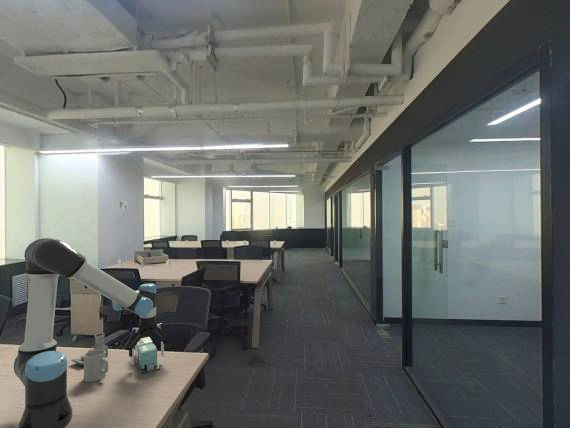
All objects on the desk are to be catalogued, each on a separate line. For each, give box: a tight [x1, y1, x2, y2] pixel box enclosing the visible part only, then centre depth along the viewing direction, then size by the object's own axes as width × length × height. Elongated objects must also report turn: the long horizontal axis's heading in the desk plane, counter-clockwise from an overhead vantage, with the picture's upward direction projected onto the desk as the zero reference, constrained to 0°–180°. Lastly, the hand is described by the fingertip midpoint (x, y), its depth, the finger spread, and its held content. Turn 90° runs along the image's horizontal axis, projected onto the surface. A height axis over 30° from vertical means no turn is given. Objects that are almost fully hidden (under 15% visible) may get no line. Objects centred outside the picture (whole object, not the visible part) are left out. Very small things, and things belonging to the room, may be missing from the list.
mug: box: [83, 349, 109, 383], centre depth 140 cm, size 12×8×11 cm
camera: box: [71, 332, 109, 366], centre depth 158 cm, size 9×12×15 cm
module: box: [139, 343, 158, 369], centre depth 151 cm, size 8×7×8 cm
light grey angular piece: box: [134, 336, 161, 375], centre depth 155 cm, size 22×8×9 cm, turn 34°
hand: (147, 359), depth 151 cm, fingers open, 13 cm apart
